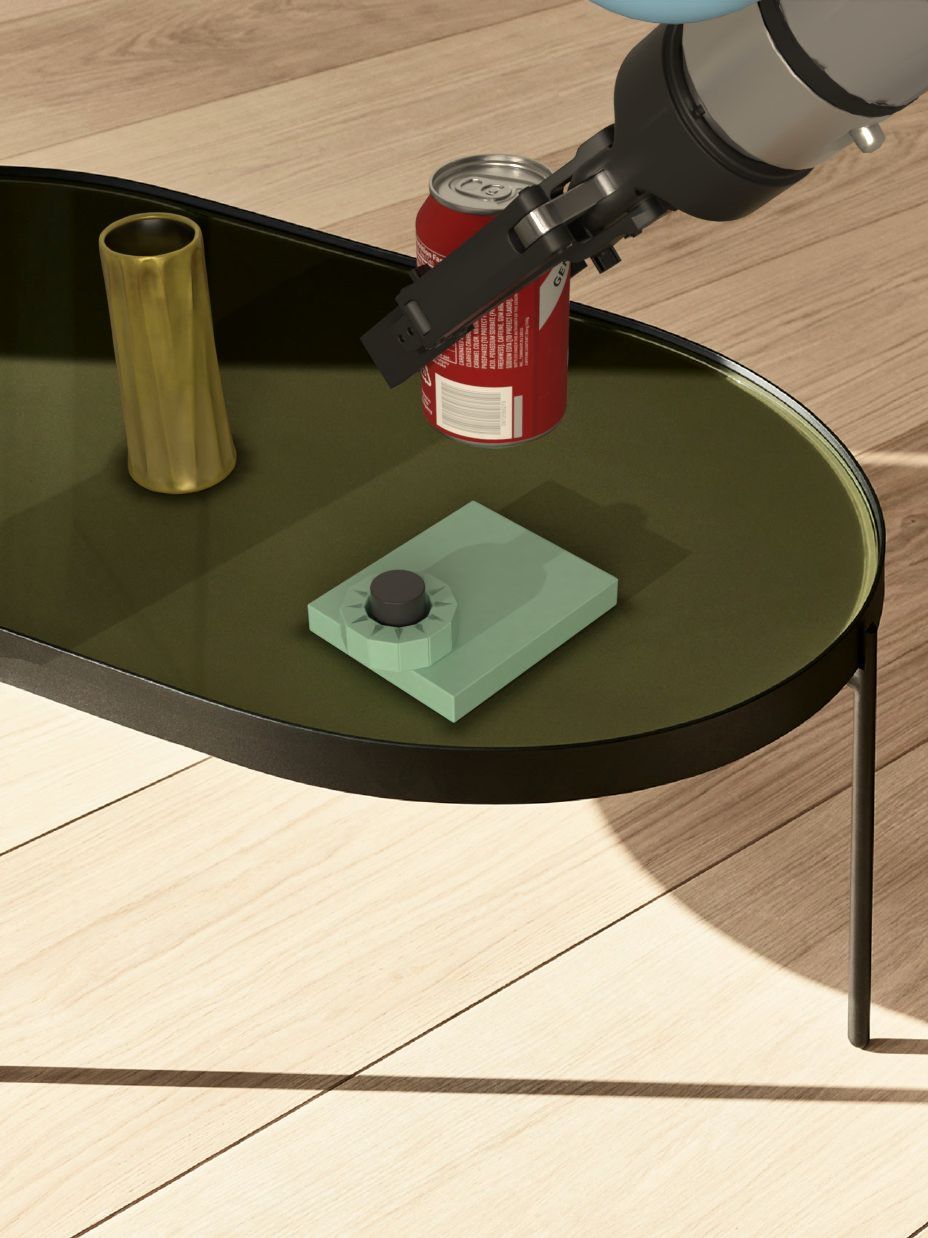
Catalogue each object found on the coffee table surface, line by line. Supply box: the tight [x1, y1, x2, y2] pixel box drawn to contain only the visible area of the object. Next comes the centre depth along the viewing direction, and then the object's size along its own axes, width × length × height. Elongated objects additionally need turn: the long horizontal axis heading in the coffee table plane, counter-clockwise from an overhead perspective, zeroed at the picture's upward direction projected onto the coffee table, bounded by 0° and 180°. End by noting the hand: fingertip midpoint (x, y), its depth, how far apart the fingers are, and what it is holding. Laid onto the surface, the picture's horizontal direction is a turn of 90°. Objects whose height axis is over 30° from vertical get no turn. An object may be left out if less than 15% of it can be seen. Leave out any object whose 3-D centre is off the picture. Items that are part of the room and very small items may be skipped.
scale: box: [307, 500, 619, 723], centre depth 83 cm, size 13×10×4 cm
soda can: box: [414, 153, 571, 450], centre depth 75 cm, size 7×7×12 cm
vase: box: [98, 211, 237, 495], centre depth 90 cm, size 6×6×14 cm
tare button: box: [370, 570, 426, 628], centre depth 79 cm, size 3×3×2 cm
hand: (438, 329), depth 79 cm, fingers closed on soda can, 7 cm apart
